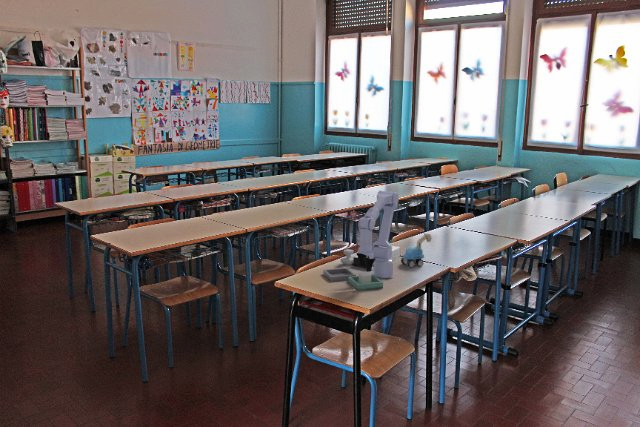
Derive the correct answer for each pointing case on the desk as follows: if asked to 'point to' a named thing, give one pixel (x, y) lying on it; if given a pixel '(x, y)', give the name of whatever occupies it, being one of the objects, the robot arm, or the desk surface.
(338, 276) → the bin
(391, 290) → the desk surface
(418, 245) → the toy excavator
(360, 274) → the light gray block
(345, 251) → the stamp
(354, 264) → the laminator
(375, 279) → the bin
